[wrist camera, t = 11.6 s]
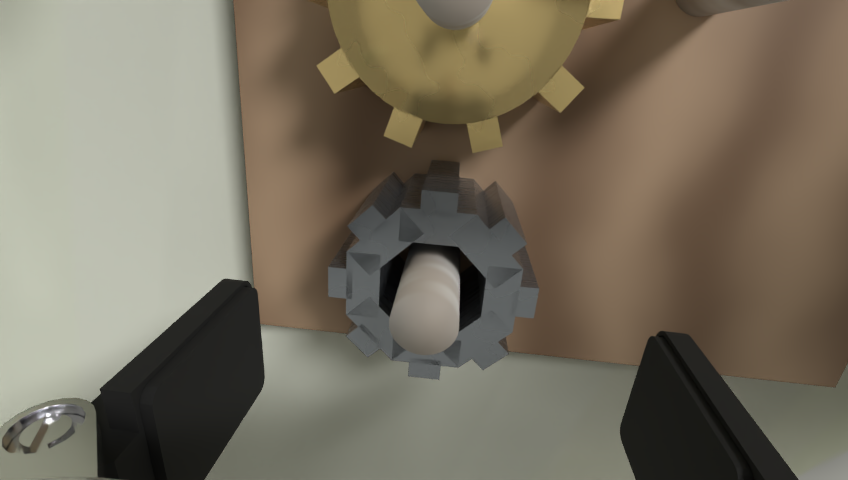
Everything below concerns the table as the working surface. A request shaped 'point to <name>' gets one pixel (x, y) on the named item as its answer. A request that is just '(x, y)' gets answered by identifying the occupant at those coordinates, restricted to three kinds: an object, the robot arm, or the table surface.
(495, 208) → the steel gear
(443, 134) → the board
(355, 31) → the brass gear
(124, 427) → the robot arm
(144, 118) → the table surface
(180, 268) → the table surface
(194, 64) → the table surface
